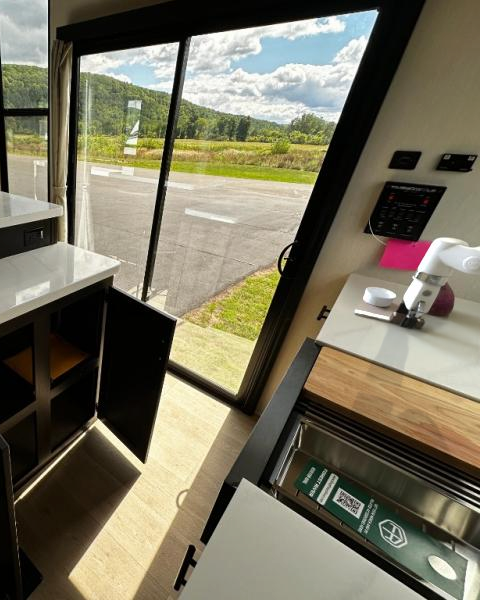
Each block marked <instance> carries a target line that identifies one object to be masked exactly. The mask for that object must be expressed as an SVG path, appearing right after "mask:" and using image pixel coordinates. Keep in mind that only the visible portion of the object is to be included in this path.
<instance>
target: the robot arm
mask: <svg viewBox="0 0 480 600" xmlns="http://www.w3.org/2000/svg"><path fill="white" fill-rule="evenodd" d="M455 269H456V270H457V271H460V272H462V273H464V274H467V275H471V276H480V245H478V246H476V247H474V246H473V247H470V246H469V243H468V242H467V241H464V240H462V239H458V238H454V237H438V238H436V239H434V240H433V241H432V243H431V244H430V247H429V248H428V250H427V252H425V255H424V257H423V258H422V260H421V262H420V263H419V265H418V267H417V268H416V270H415V271H414V273H413V275H412V280H413V281H412V282H411V283H410V285H409V286H408V288H407V289H406V291H405V293H404V295H403V299H402V300H401V302H400V304H399V305H398V306H397V309H396V310H395V313H400V314H405V315H407V316H405V318H404V319H403V321H402V322H401V324H400V325H399V326H400V327H402V328H405V329H409V330H413V329H415V328H414V326H415V325H416V323H417V321H418V320H419V319H420V318H422V316H423V315H424V314H427V312H428V311H429V309H430V308H431V306H432V304H433V302H434V301H435V299H436V297H437V295H438V293H439V291H440V288H441V286H443V285H445V283H446V282H448V280H449V279H450V277H451V276H452V274H453V272H454V271H455ZM415 308H417V309H415Z"/></svg>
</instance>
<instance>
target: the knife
mask: <svg viewBox="0 0 480 600" xmlns="http://www.w3.org/2000/svg"><path fill="white" fill-rule="evenodd" d="M353 313H354V315H356V316H361V317H365V318H368V319H369V318H370V319H374V320H377V321H382V322H386V323H390V324H395V325H399V326H400V324H401V322H402V321H403V319H404V318H405V316H407V315H405V314H400V313H396V311H393V312H391V315H390V316H387V315H382V314H377V313H373V312H368V311H364V310H360V309H354V312H353ZM425 321H426V320H425V319H424V318H422V317H420V319H419V320H418V321H417V323H416V325H415V326H414V328H413V329H416V330H420V331H421V330H422V328H423V327H424V325H425V324H426V322H425Z"/></svg>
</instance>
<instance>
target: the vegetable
mask: <svg viewBox="0 0 480 600" xmlns="http://www.w3.org/2000/svg"><path fill="white" fill-rule="evenodd" d="M455 298H456V297H455V293H454V290H453V289H452V287H451V286H450V284H449V282H448V281H447V282H446V283H445V285H443V286H441V288H440V291H439V293H438V295H437V297H436V299H435V301H434V302H433V304H432V306H431V308H430V309H429V311H428V312H427V313H426V314H427V315H432V316H436V317H447V316H449V315H450V314H451V313H452V311H453V309H454V306H455V300H456V299H455ZM414 309H417V308H414Z"/></svg>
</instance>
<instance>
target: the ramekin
mask: <svg viewBox="0 0 480 600" xmlns="http://www.w3.org/2000/svg"><path fill="white" fill-rule="evenodd" d="M396 298H397V294H396V293H395V292H393V291H391V290H389V289H387V288H383V287H377V286H369V287H366V288H365V292H364V295H363V301H364V302H365V303H367V304H369V305H370V306H373V307H379V308H385V307H386V308H387V307H389V306H390V305H391V304H392V302H393V301H394V300H395V299H396Z"/></svg>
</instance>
